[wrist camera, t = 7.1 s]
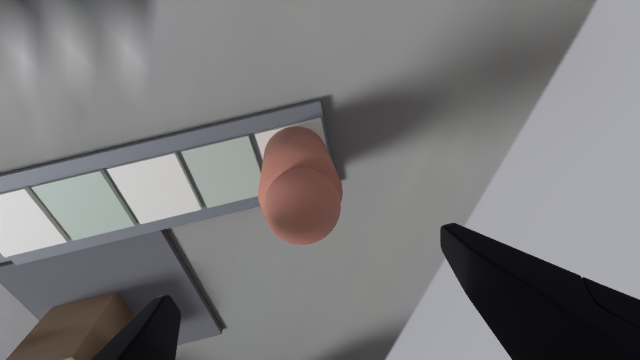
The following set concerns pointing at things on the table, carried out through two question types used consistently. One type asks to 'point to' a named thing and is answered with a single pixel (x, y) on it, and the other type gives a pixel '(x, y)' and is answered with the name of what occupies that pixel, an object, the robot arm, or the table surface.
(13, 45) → the table surface
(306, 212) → the pawn
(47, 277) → the mat
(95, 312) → the tan cardboard cube
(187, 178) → the board
